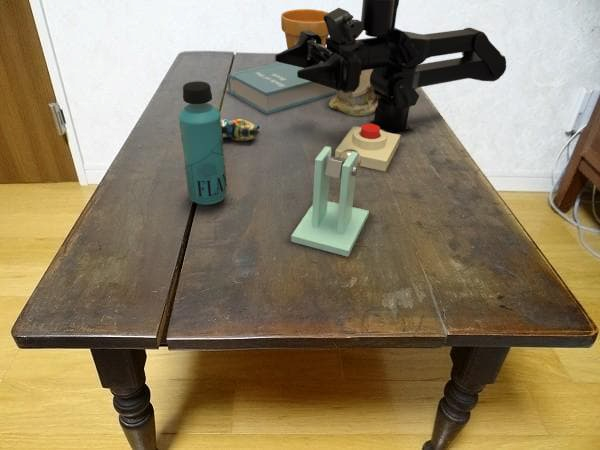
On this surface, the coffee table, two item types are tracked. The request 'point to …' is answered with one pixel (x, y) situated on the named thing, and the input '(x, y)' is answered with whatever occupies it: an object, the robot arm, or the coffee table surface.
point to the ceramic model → (357, 98)
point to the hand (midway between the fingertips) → (286, 65)
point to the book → (275, 87)
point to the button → (370, 131)
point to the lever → (339, 163)
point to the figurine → (239, 129)
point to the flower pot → (303, 25)
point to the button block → (371, 148)
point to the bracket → (332, 211)
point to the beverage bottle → (202, 145)
